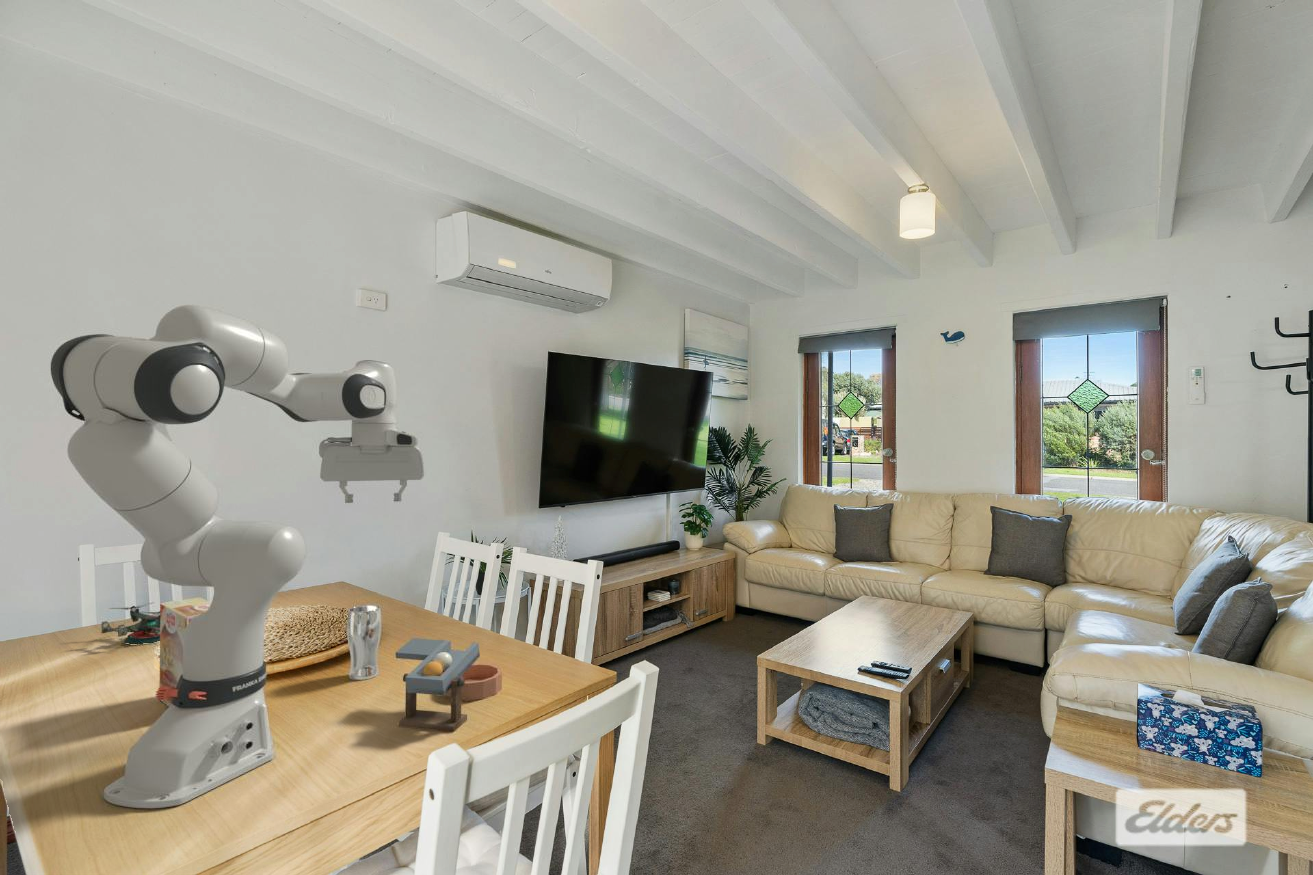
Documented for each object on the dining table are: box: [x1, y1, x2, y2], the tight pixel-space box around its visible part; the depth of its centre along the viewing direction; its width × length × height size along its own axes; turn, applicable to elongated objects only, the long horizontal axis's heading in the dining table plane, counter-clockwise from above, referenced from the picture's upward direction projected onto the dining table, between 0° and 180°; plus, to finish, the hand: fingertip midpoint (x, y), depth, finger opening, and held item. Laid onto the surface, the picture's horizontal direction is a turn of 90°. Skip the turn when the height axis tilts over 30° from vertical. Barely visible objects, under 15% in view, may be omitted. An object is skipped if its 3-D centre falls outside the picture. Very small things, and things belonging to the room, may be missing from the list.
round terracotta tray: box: [446, 662, 503, 702], centre depth 130 cm, size 11×11×4 cm
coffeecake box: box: [158, 596, 212, 708], centre depth 123 cm, size 15×7×20 cm, turn 53°
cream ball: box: [433, 652, 452, 671], centre depth 118 cm, size 4×4×4 cm
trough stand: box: [398, 673, 468, 733], centre depth 115 cm, size 5×12×9 cm, turn 79°
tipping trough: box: [395, 637, 481, 696], centre depth 119 cm, size 14×15×3 cm
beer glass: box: [346, 604, 382, 681], centre depth 138 cm, size 7×7×15 cm
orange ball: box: [423, 661, 443, 676], centre depth 114 cm, size 4×4×4 cm
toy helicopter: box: [101, 601, 160, 644], centre depth 161 cm, size 20×15×8 cm
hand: (373, 502), depth 132 cm, fingers open, 8 cm apart
